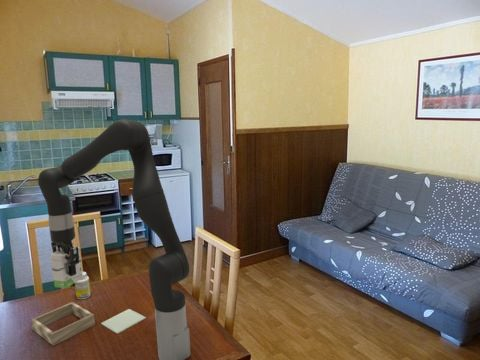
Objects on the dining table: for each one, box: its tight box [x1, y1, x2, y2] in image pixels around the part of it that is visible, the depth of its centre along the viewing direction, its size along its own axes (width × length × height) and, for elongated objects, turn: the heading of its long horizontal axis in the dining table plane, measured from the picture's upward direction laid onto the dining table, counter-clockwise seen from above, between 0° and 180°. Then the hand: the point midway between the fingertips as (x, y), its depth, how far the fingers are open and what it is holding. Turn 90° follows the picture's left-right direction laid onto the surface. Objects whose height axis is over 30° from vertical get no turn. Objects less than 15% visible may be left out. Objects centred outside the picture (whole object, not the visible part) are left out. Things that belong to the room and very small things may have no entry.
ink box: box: [49, 246, 83, 289], centre depth 130 cm, size 9×5×12 cm, turn 160°
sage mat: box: [100, 308, 146, 335], centre depth 138 cm, size 10×12×1 cm
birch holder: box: [30, 301, 96, 346], centre depth 134 cm, size 15×15×4 cm
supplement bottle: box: [74, 271, 92, 300], centre depth 155 cm, size 6×6×10 cm
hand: (67, 272), depth 131 cm, fingers closed on ink box, 6 cm apart
